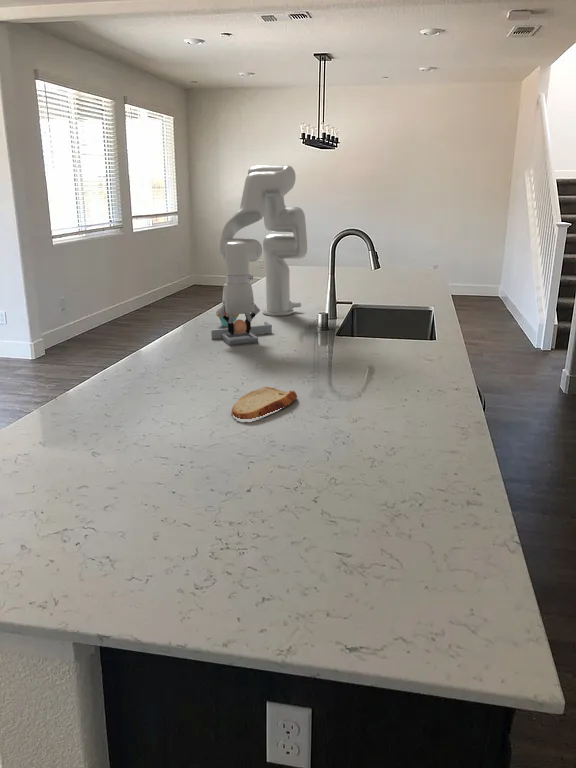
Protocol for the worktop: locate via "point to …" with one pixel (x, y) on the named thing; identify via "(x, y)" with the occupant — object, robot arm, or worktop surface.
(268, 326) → the wall
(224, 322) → the cupcake
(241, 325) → the ball
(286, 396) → the bread slice
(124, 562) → the worktop surface
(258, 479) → the worktop surface
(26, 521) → the worktop surface
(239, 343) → the dish
